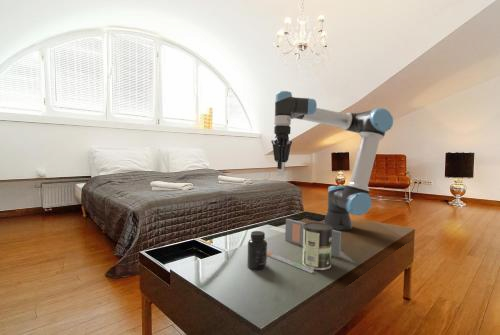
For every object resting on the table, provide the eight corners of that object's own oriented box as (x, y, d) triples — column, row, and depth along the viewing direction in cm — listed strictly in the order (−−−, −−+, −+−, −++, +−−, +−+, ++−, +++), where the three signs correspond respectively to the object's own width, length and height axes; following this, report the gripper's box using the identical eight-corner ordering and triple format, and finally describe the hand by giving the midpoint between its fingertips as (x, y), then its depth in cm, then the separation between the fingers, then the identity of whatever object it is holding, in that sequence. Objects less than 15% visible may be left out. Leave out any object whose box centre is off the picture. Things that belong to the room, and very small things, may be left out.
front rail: (257, 250, 105) (257, 247, 105) (313, 272, 86) (314, 269, 86) (255, 251, 104) (255, 248, 104) (311, 273, 85) (312, 270, 85)
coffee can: (329, 259, 97) (331, 223, 96) (332, 272, 87) (334, 231, 86) (301, 256, 99) (303, 221, 98) (301, 268, 89) (303, 228, 88)
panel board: (286, 240, 118) (287, 218, 118) (340, 257, 100) (341, 231, 99) (284, 240, 117) (285, 219, 117) (338, 258, 99) (339, 232, 98)
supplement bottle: (244, 263, 91) (245, 230, 91) (261, 261, 94) (262, 229, 94) (251, 272, 85) (252, 236, 85) (270, 269, 88) (271, 234, 87)
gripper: (280, 123, 112) (278, 177, 113) (297, 126, 121) (295, 176, 123) (267, 124, 117) (265, 175, 119) (284, 127, 127) (283, 174, 128)
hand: (280, 175), depth 121 cm, fingers closed
